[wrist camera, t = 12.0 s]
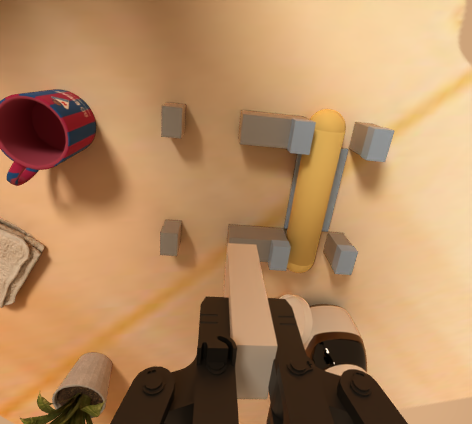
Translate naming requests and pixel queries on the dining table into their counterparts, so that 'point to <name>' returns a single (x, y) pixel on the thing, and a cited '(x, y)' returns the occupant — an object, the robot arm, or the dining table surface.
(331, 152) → the yellow round-top post
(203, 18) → the dining table surface
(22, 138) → the mug
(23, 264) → the washcloth
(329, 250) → the grey block frame
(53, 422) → the house plant
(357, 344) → the spread jar
